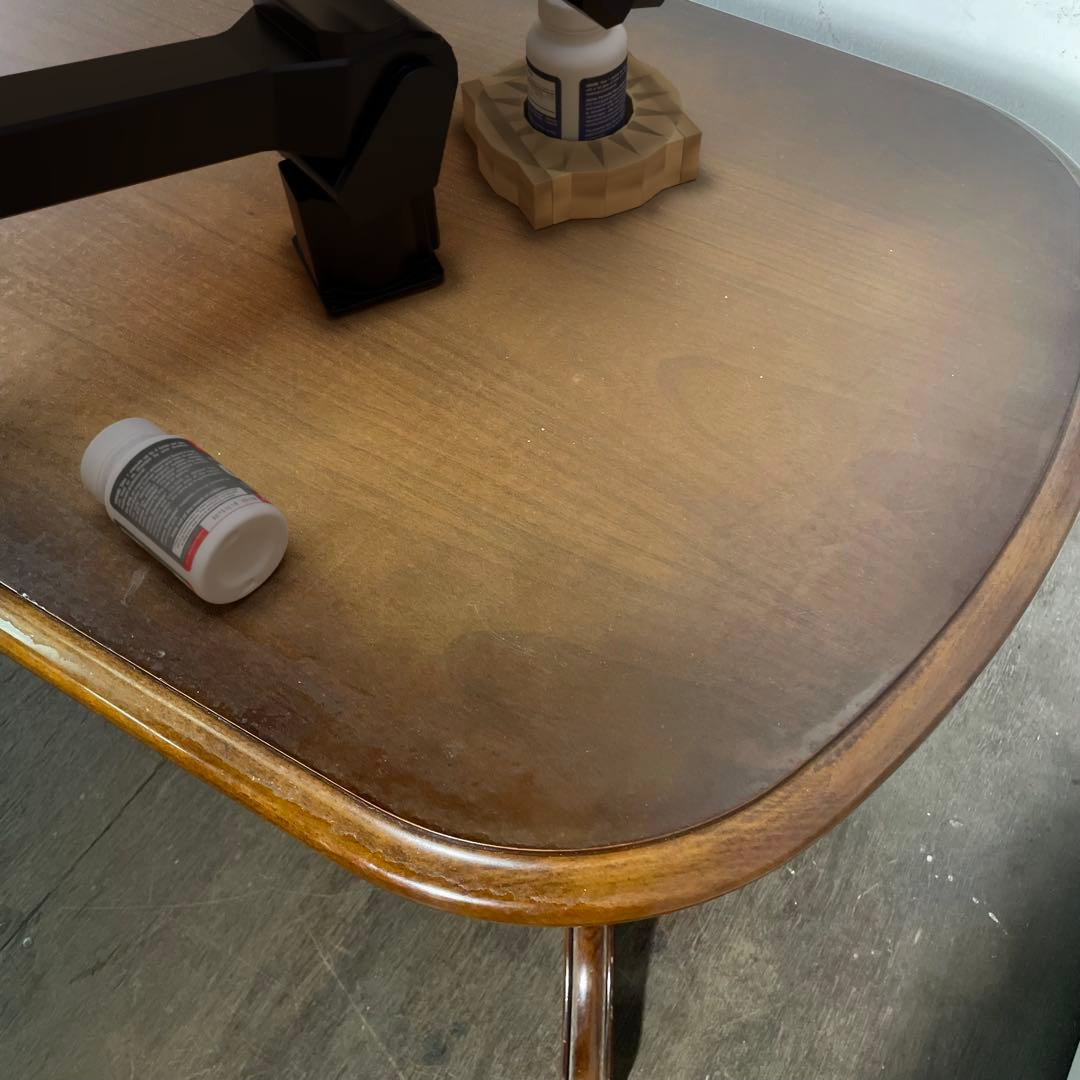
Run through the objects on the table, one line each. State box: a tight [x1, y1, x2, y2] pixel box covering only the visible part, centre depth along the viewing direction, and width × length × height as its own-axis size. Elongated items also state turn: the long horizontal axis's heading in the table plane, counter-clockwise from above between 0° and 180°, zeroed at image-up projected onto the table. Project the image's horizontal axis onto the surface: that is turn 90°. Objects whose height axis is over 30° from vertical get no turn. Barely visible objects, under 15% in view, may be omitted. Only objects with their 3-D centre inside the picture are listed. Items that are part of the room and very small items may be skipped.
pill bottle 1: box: [79, 417, 290, 605], centre depth 44 cm, size 5×5×8 cm
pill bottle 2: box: [525, 0, 629, 141], centre depth 57 cm, size 5×5×10 cm
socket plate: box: [460, 50, 703, 231], centre depth 60 cm, size 11×11×3 cm
